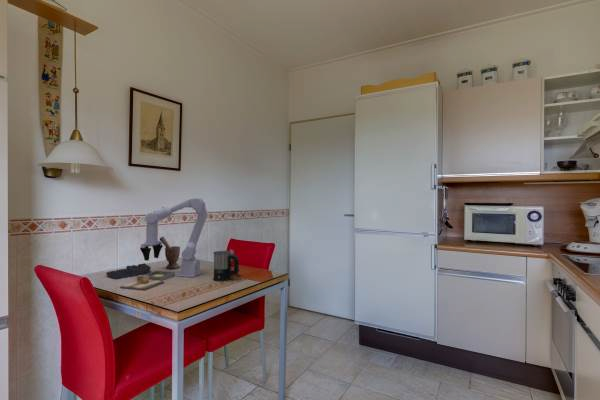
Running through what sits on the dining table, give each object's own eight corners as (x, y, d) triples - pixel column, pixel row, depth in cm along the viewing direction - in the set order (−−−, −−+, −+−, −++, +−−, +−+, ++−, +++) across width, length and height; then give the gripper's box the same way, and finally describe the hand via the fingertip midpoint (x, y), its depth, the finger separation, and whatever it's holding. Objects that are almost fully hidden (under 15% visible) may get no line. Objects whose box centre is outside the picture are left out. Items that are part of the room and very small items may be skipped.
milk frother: (212, 281, 162) (212, 253, 162) (214, 274, 177) (214, 248, 178) (239, 280, 165) (240, 253, 165) (239, 273, 180) (240, 248, 180)
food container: (223, 268, 193) (224, 252, 193) (216, 267, 196) (217, 251, 196) (237, 265, 203) (237, 250, 203) (230, 264, 207) (231, 249, 207)
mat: (164, 282, 158) (164, 281, 158) (144, 290, 144) (144, 289, 144) (141, 280, 161) (141, 279, 161) (119, 288, 147) (119, 287, 148)
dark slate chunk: (102, 276, 171) (102, 267, 171) (141, 269, 189) (141, 261, 189) (115, 281, 162) (115, 271, 162) (155, 273, 180) (155, 265, 180)
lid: (162, 282, 158) (163, 273, 158) (144, 289, 145) (144, 280, 145) (141, 280, 161) (141, 272, 161) (121, 286, 148) (121, 278, 148)
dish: (174, 276, 172) (174, 272, 172) (160, 281, 161) (160, 277, 161) (156, 274, 175) (156, 270, 175) (140, 279, 164) (140, 275, 164)
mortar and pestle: (166, 271, 183) (166, 237, 183) (157, 269, 187) (157, 236, 188) (182, 267, 193) (183, 235, 193) (173, 266, 197) (174, 234, 197)
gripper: (154, 233, 179) (154, 256, 179) (136, 235, 165) (135, 261, 165) (165, 233, 178) (164, 257, 178) (147, 236, 164) (146, 261, 164)
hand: (151, 259), depth 171 cm, fingers open, 7 cm apart
